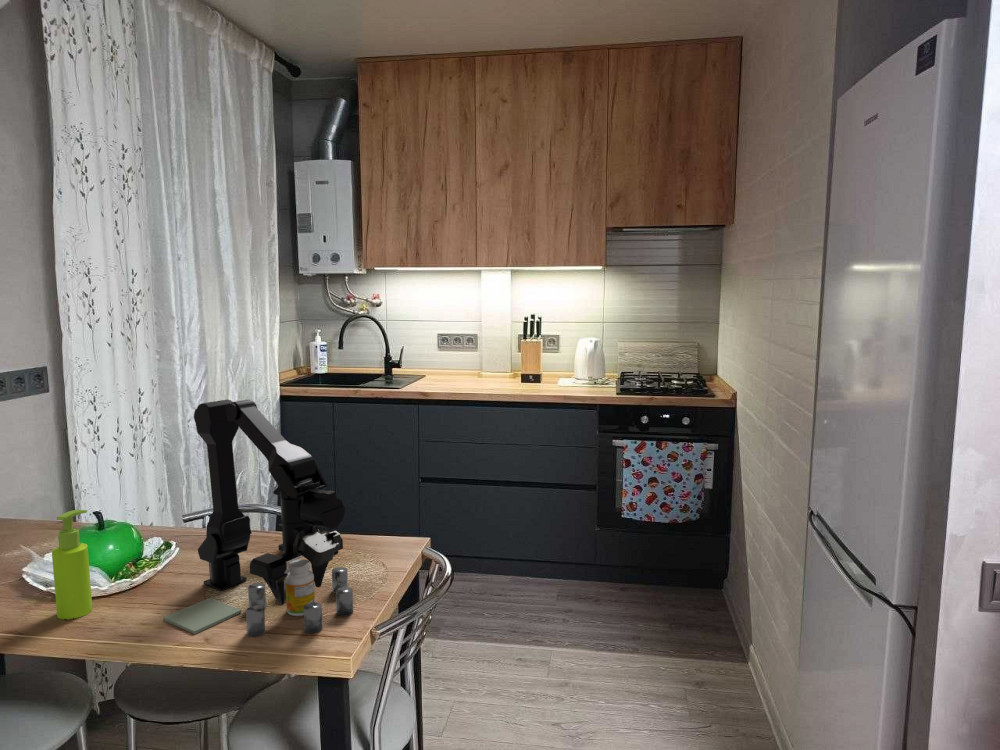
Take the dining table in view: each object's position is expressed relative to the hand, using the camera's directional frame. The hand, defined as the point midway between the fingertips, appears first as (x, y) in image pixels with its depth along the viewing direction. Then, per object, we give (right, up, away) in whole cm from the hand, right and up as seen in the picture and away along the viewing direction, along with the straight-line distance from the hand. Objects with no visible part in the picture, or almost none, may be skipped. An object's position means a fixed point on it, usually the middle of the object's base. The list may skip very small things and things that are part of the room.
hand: (300, 595), depth 133 cm
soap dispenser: (-44, -3, 0) cm, 44 cm away
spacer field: (0, -3, 0) cm, 3 cm away
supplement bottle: (0, -3, 0) cm, 3 cm away
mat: (-18, -3, -2) cm, 19 cm away
